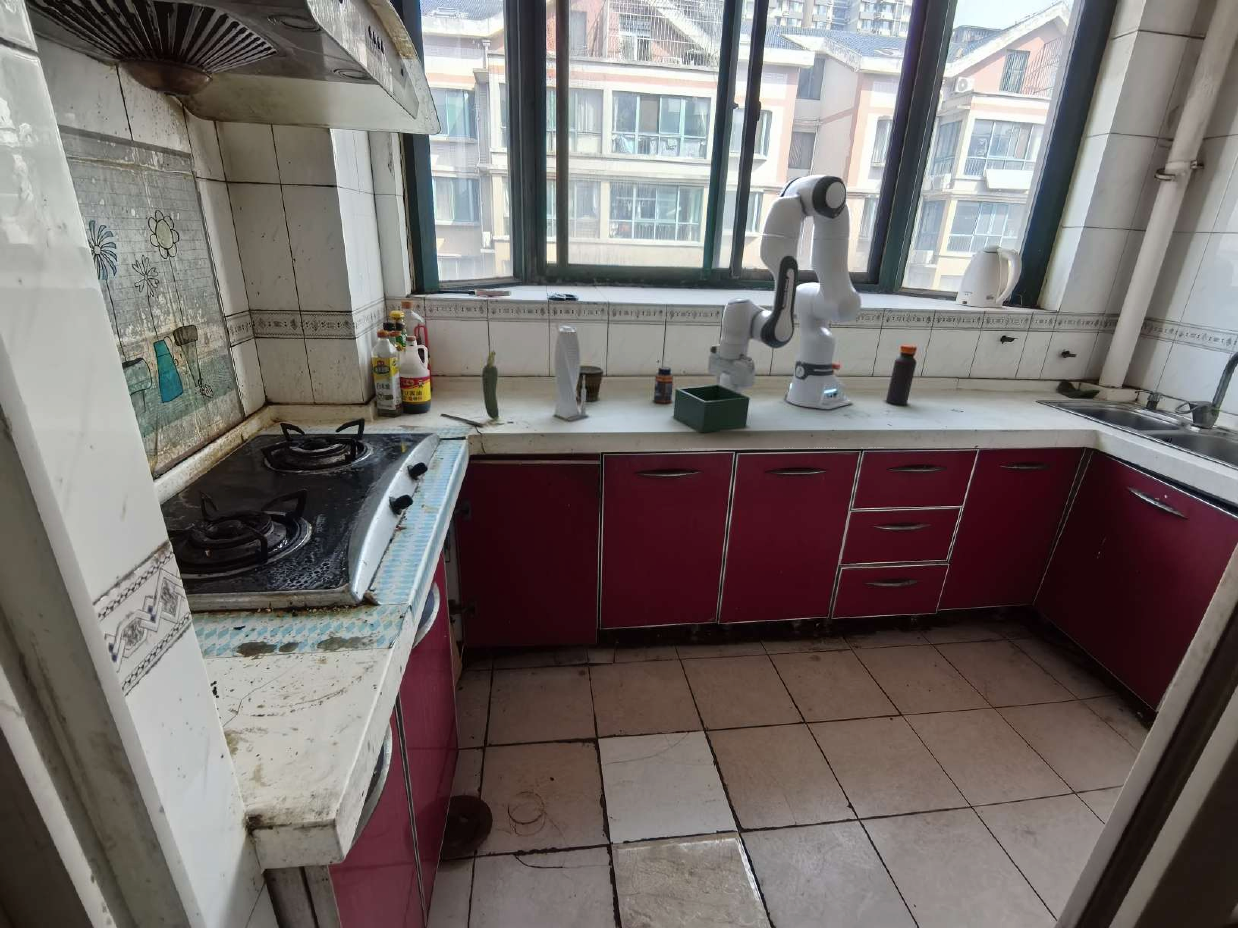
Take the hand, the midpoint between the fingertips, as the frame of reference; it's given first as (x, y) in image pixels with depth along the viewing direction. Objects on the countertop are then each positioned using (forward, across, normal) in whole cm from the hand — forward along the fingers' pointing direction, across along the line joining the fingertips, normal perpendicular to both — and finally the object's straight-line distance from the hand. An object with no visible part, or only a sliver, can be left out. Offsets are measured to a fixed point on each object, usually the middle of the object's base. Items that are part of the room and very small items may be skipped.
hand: (728, 394), depth 190 cm
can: (+5, 0, 0) cm, 5 cm away
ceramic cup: (+5, +24, +40) cm, 47 cm away
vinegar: (+5, -14, -63) cm, 65 cm away
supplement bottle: (+5, +14, +16) cm, 22 cm away
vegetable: (+5, +13, +74) cm, 75 cm away
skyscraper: (+5, +9, +52) cm, 53 cm away
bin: (+5, -10, +14) cm, 18 cm away
